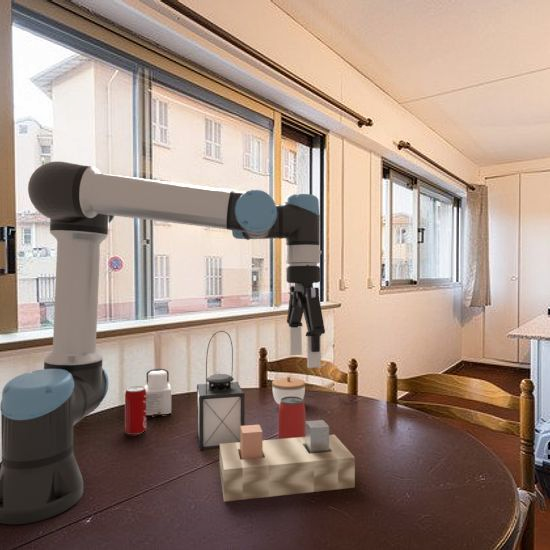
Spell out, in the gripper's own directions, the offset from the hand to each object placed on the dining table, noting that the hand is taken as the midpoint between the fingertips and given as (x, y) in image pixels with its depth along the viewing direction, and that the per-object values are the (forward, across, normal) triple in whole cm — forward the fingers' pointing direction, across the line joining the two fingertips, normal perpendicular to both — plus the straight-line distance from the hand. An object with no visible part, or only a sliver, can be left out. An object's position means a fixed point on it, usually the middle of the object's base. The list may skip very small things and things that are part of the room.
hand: (304, 360), depth 92 cm
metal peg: (+18, -5, -1) cm, 19 cm away
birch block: (+23, -5, +6) cm, 25 cm away
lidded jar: (+24, +41, -7) cm, 48 cm away
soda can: (+23, +29, +39) cm, 54 cm away
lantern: (+23, +18, +17) cm, 34 cm away
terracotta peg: (+18, -5, +13) cm, 23 cm away
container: (+23, +44, +34) cm, 60 cm away
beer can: (+24, +9, +1) cm, 25 cm away
